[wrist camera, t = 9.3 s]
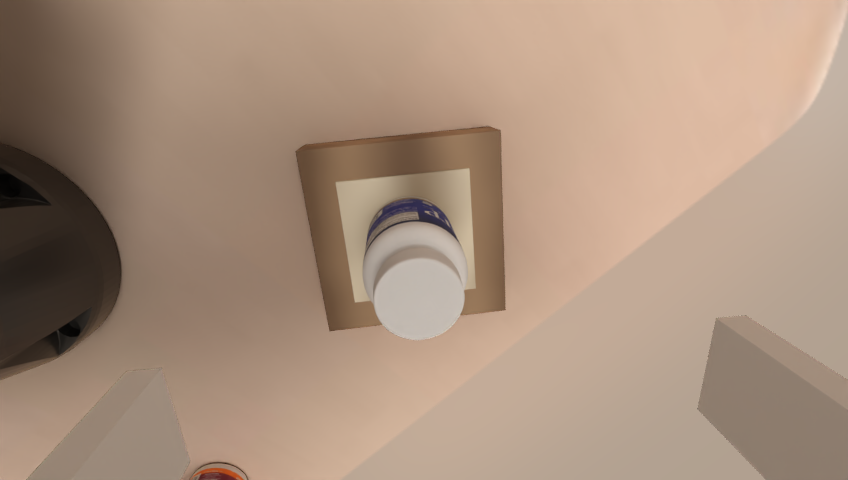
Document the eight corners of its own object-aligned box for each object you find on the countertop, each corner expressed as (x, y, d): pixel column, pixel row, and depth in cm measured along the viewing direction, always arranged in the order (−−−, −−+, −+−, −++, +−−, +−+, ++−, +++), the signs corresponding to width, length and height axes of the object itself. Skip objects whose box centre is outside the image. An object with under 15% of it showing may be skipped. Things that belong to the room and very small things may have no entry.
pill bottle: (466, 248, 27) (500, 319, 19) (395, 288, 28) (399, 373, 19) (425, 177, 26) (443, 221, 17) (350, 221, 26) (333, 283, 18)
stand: (334, 309, 31) (329, 332, 28) (305, 144, 27) (294, 151, 24) (495, 290, 32) (506, 311, 29) (489, 126, 28) (501, 131, 25)
